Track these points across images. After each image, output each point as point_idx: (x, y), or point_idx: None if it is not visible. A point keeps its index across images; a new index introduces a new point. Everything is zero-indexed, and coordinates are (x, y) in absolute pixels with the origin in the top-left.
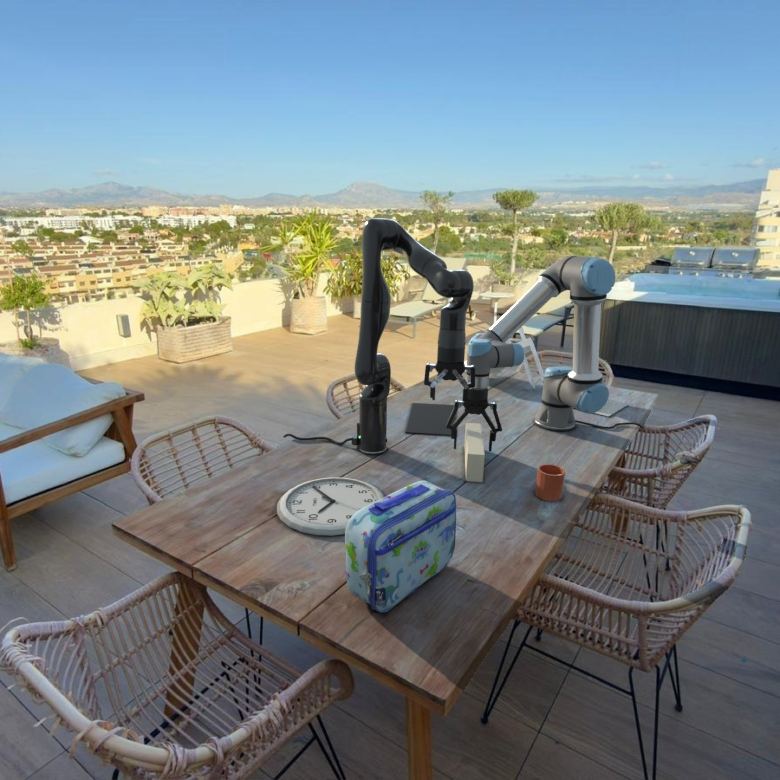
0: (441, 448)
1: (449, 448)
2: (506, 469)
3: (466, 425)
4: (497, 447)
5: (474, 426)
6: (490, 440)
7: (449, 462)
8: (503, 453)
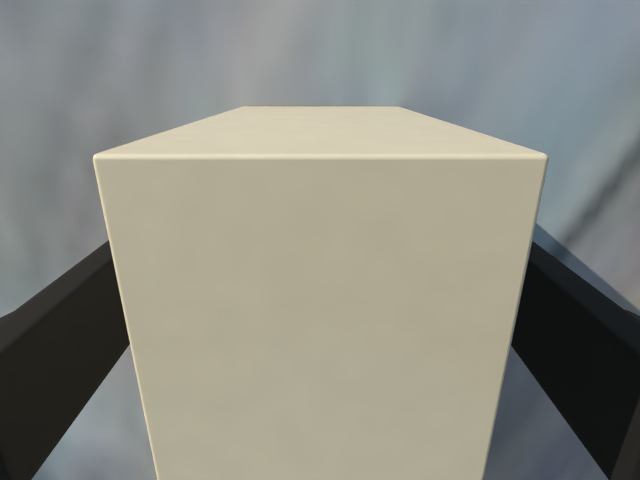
0: (11, 184)
1: (90, 172)
2: (549, 471)
3: (137, 348)
4: (617, 56)
5: (341, 381)
6: (554, 395)
7: (146, 430)
8: (627, 210)
